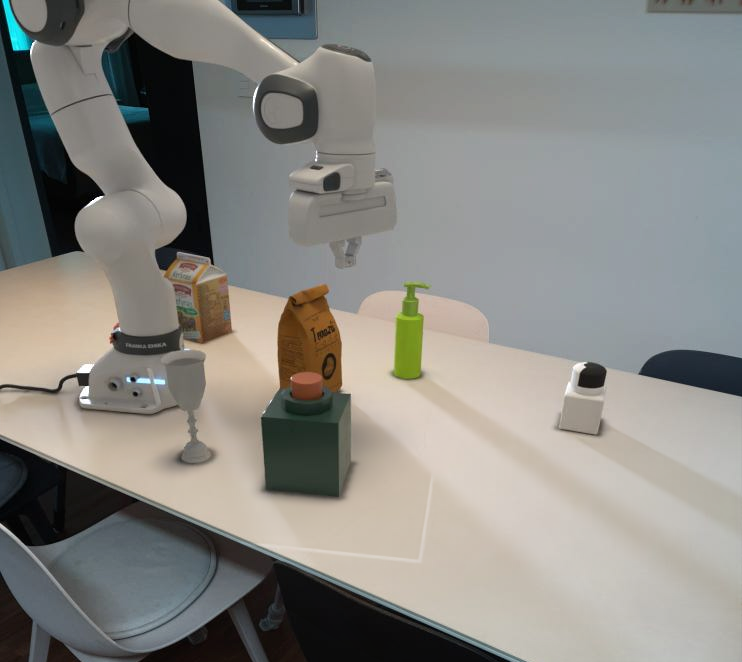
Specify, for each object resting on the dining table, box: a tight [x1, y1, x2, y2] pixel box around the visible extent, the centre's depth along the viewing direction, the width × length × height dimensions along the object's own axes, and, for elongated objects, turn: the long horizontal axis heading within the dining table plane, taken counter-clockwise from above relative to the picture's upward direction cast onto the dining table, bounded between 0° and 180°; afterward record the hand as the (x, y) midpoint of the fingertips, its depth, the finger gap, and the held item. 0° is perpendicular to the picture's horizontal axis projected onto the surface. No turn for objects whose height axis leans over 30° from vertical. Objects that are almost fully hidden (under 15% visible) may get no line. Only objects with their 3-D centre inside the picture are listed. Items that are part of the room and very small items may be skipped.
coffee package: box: [276, 283, 343, 393], centre depth 142 cm, size 10×12×22 cm
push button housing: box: [260, 386, 352, 497], centre depth 116 cm, size 12×11×15 cm
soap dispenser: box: [393, 281, 432, 380], centre depth 154 cm, size 6×7×20 cm
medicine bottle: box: [558, 361, 608, 435], centre depth 136 cm, size 7×7×12 cm
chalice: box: [161, 349, 212, 464], centre depth 121 cm, size 7×7×18 cm
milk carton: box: [163, 251, 233, 344], centre depth 174 cm, size 11×11×19 cm
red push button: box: [291, 372, 323, 400], centre depth 112 cm, size 5×5×3 cm
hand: (345, 267), depth 115 cm, fingers closed
